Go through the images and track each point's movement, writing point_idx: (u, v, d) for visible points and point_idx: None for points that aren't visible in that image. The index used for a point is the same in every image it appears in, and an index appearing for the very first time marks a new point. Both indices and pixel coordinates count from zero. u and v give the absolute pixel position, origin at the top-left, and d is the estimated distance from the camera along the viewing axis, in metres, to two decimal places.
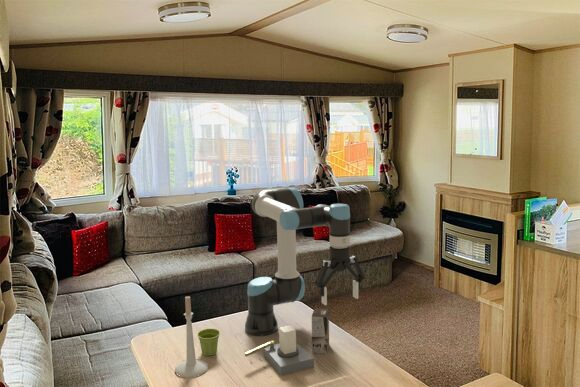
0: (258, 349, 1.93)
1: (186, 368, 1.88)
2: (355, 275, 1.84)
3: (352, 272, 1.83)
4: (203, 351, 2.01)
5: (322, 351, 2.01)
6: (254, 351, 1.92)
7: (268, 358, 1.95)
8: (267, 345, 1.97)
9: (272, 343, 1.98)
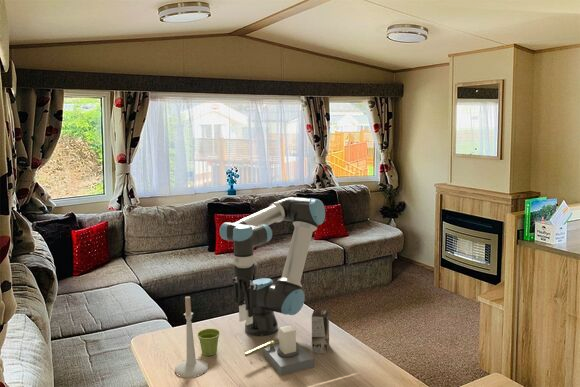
0: (258, 349, 1.93)
1: (186, 368, 1.88)
2: (246, 301, 1.90)
3: (246, 296, 1.90)
4: (203, 351, 2.01)
5: (322, 351, 2.01)
6: (254, 351, 1.92)
7: (268, 358, 1.95)
8: (267, 345, 1.97)
9: (272, 343, 1.98)
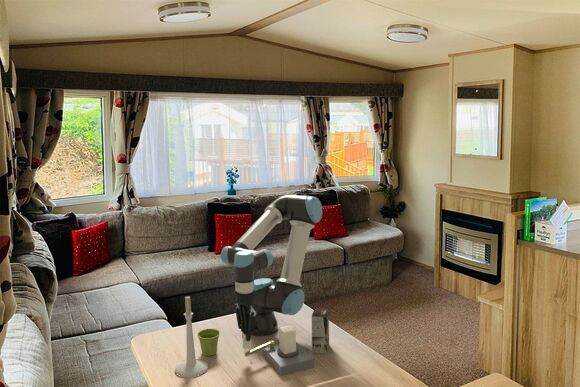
0: (258, 349, 1.93)
1: (186, 368, 1.88)
2: (245, 325, 1.92)
3: (245, 321, 1.92)
4: (203, 351, 2.01)
5: (322, 351, 2.01)
6: (254, 351, 1.92)
7: (268, 358, 1.95)
8: (267, 345, 1.97)
9: (272, 343, 1.98)
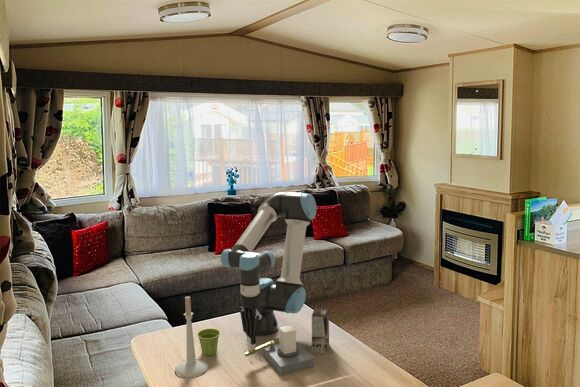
0: (258, 349, 1.93)
1: (186, 368, 1.88)
2: (250, 329, 1.90)
3: (250, 324, 1.89)
4: (203, 351, 2.01)
5: (322, 351, 2.01)
6: (254, 351, 1.92)
7: (268, 358, 1.95)
8: (267, 345, 1.97)
9: (272, 343, 1.98)
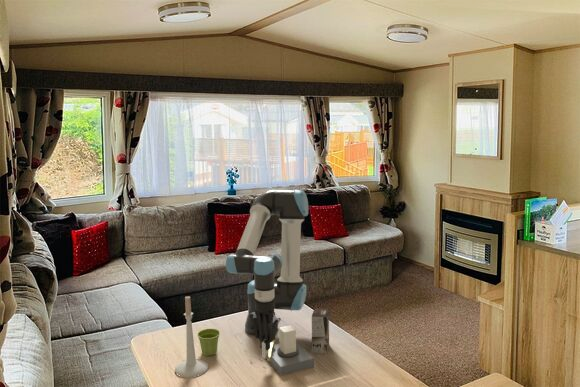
0: (271, 351, 1.91)
1: (186, 368, 1.88)
2: (266, 334, 1.85)
3: (266, 329, 1.85)
4: (203, 351, 2.01)
5: (322, 351, 2.01)
6: None
7: None
8: (272, 346, 1.96)
9: (274, 343, 1.98)
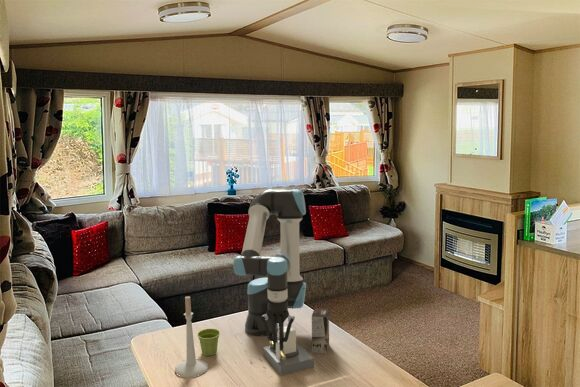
0: None
1: (186, 368, 1.88)
2: (280, 335, 1.84)
3: (280, 330, 1.84)
4: (203, 351, 2.01)
5: (322, 351, 2.01)
6: None
7: (268, 358, 1.95)
8: None
9: None
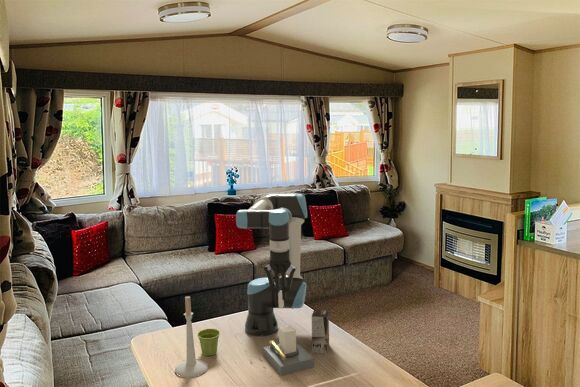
0: None
1: (186, 368, 1.88)
2: (283, 284, 1.90)
3: (282, 279, 1.89)
4: (203, 351, 2.01)
5: (322, 351, 2.01)
6: None
7: (268, 358, 1.95)
8: None
9: (274, 342, 1.99)
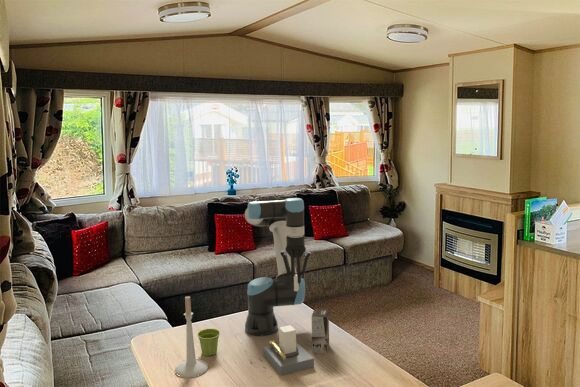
0: None
1: (186, 368, 1.88)
2: (298, 268, 2.03)
3: (298, 264, 2.03)
4: (203, 351, 2.01)
5: (322, 351, 2.01)
6: None
7: (268, 358, 1.95)
8: None
9: (274, 342, 1.99)
